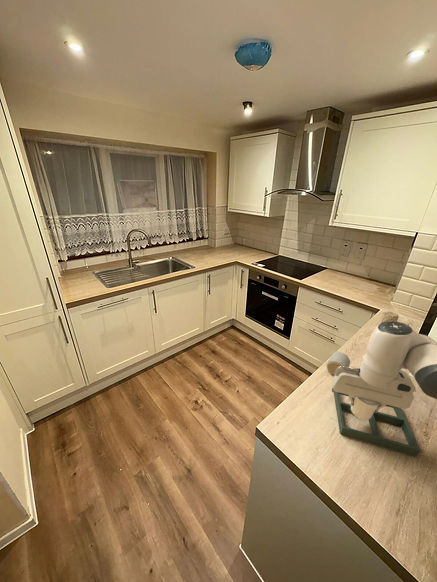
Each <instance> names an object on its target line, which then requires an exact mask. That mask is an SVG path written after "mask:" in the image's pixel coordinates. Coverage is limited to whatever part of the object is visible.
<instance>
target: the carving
mask: <svg viewBox="0 0 437 582" xmlns="http://www.w3.org/2000/svg"><path fill="white" fill-rule="evenodd" d="M399 317H400V316H399V315H398V313H396V312H393V311H385V312H384V313H383V315H382V317H381V320H380V321H379V324H380V323H382V322H385V321H397V322H398V320H399Z"/></svg>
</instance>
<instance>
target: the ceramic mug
mask: <svg viewBox="0 0 437 582" xmlns="http://www.w3.org/2000/svg"><path fill="white" fill-rule="evenodd" d="M343 365H345V366H348V367H350V365H351V360H350V357H349V356H348V355H347V354H346V353H344V352H341V351H335V352H333V353H332V354H331V355H330V357H329V359H328V361H327V363H326V369H327V371H328V372H329V373H330V374H331V375H333V376H335V371H336V368H337V367H339V366H343Z"/></svg>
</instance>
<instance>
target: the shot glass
mask: <svg viewBox="0 0 437 582" xmlns="http://www.w3.org/2000/svg"><path fill="white" fill-rule="evenodd" d="M353 401H354V406H352V405H351V411H352V413H351V414H353V416H355V417H356V418H358V419H360V420H363V421H368V420H369V419H370V418H371V416H372V415H373V413H374V412H375V410H376V409H377V407H378V405H379V404H380V403H378V402H374V401H370V400H366V399H363V398H359V397H354V398H353Z"/></svg>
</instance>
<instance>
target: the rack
mask: <svg viewBox="0 0 437 582" xmlns="http://www.w3.org/2000/svg"><path fill="white" fill-rule="evenodd" d="M331 392H332V393H333V398H334V404H335V409H336V411H335V412H336V417H337V423H338V429H339V430H338V431H339V435H341V436H343V437H344V436H345V437H348V438H351V439H354V440H358V441H361V442H365V443H367V444H371V445H374V446H376V447H377V446H378V447H382V448H383V449H387V450H391V451H395V452H398V453H401V454H404V455H406V456H410V457H414V458H417V457H418V456H419V455H420V453H421V448H420V447H419V444H418V442H417V440H416V437H415V435H414V433H413V432H412V428H411V427H410V424H409V421H408V420H407V418H406V416H405V413H404V411H403V409H402V408H398V407H394V406H390V405H386V406H385V407H388V408H392V409H393V411H394V413H395V415H392V414H388V413H384V412H381V411H378V412H374V413H373V415H372V416H371V418H370V419H369V420H367V421H368V424H369V427H370V432H371V433H368V432H365V431H361V430H359V429H354V428H351V427H348V426H345V419H344V414H343V412H347V413H349V414H353V413H352V411H351V405H350V404H349V403H348V402H343V401H341V398H340V395H342V396H345V397H349V395H347V394H343V393H339V392H336V391H334V389H333V387H332V388H331ZM377 421H380V422H383V423H386V424H390V425H393V426H398V427H400V428H401V430H402V432H403V435H404V437H405V439H406V442H407V444H406V443H404V442H403V443H402V442H399V441H396V440H393V439H389V438H386V437H382V436H381V433H380V431H379V428H378V424H377Z"/></svg>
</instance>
